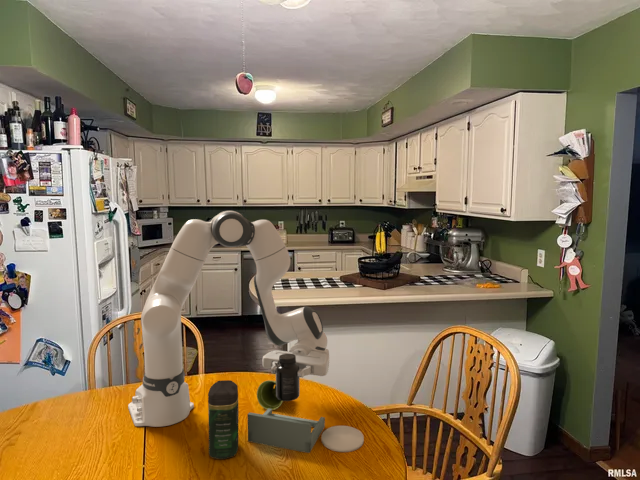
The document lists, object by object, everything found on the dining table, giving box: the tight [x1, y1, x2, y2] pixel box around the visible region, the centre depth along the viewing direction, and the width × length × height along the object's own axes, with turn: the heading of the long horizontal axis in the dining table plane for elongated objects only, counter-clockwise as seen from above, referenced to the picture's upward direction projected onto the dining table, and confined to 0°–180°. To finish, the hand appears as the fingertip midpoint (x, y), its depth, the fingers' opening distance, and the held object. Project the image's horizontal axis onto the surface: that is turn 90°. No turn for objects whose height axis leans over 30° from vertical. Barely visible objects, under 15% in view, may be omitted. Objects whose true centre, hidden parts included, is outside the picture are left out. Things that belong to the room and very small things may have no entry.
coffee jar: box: [207, 379, 240, 460], centre depth 119 cm, size 10×8×19 cm
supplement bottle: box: [275, 354, 301, 402], centre depth 127 cm, size 7×7×12 cm
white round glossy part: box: [320, 425, 365, 453], centre depth 126 cm, size 12×12×1 cm
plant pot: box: [256, 379, 284, 411], centre depth 147 cm, size 9×9×9 cm
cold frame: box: [247, 408, 326, 454], centre depth 128 cm, size 14×18×8 cm
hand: (286, 372), depth 126 cm, fingers closed on supplement bottle, 7 cm apart
